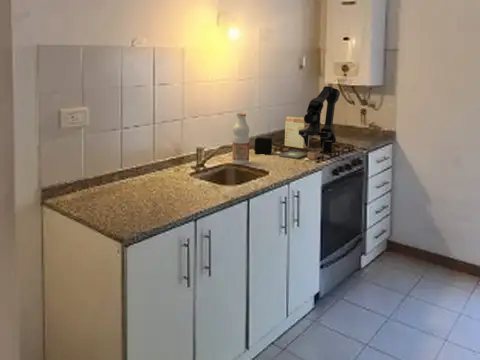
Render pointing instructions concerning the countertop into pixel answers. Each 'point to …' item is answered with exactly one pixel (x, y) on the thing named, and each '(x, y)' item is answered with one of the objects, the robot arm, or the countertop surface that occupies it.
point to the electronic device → (263, 145)
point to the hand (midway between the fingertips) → (314, 147)
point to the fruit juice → (241, 140)
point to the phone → (313, 154)
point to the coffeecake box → (295, 132)
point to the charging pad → (293, 155)
